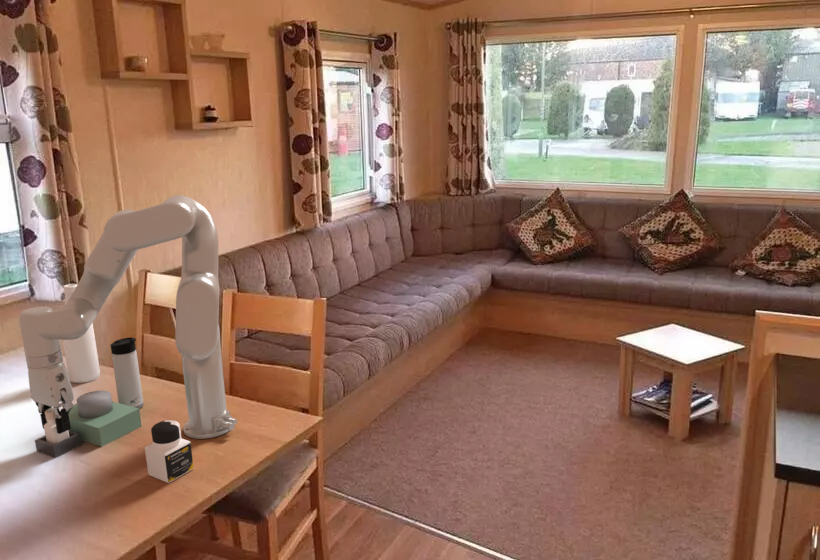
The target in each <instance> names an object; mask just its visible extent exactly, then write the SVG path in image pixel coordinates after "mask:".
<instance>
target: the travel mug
mask: <svg viewBox="0 0 820 560" xmlns="http://www.w3.org/2000/svg"><path fill="white" fill-rule="evenodd" d="M136 341H137V339H136V337H125V338H120V339H118V340H114V341H113V342H112V343H110V351H111V358H112V359H111V360H112V366H113V373H114V381H115V385H116V386H115V388H116V393H117V401H118V402H117V403H120V404H124V405H128V406H131V407H135V408H139V410H140V409H141V408H143V407H144V396H143V391H142V390H143V389H142V384H141V383H142V382H141V377H140V376H141V375H140V368H139V367H140V366H139V359H138V353H137V347H136Z"/></svg>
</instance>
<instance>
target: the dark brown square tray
mask: <svg viewBox="0 0 820 560" xmlns="http://www.w3.org/2000/svg"><path fill="white" fill-rule="evenodd" d="M68 431H69V436H70V437H69V438H67V439H65V440H63V441H61V442H58V443H56V444H52V443H49V442H47V440H46V435H45V434H44V435H42V436H41V437H39V438H37V439H35V440H34V444H35V449H36V452H37V453H41V454H43V455H46V456H49V457H52V458H55V459H57V458H59V457H60V456H63V455H64V454H66V453H69V452H70V451H72V450H74V449H76V448H78V447H79V448H80V446H82V445H83V440H82V439H81V434H80V433H77V432H74V431H71V430H68Z"/></svg>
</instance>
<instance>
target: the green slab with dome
mask: <svg viewBox="0 0 820 560" xmlns="http://www.w3.org/2000/svg"><path fill="white" fill-rule="evenodd" d="M112 400H113V399H112V393H111V392H110V391H109V390H108V391H107V390H94V391H90V392H86V393H84V394H82V395H79V396H78V397H77V398H76V403H75V404H73V405H74V407H73V408H72V409H71V410H70V414H69V420H70V426H71V428H70V429H69V430H71V431H74V432H77V433H80V434H81V439H82V442H86V443H89V444H93V445H95V446H99V447H102V448H103V447H104V446H106V445H108V444H110V443H112V442H113V441H115V440H118V439H119V438H122V437H123V436H125V435H127V434H129V433H132V432H133V431H135V430H137V429H139V428H140V427H142V426H143V425H142V420H141V412H140V409H139V408H135V407H131V406H128V405H124V404H120V403H119V402H116V401H112Z"/></svg>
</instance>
